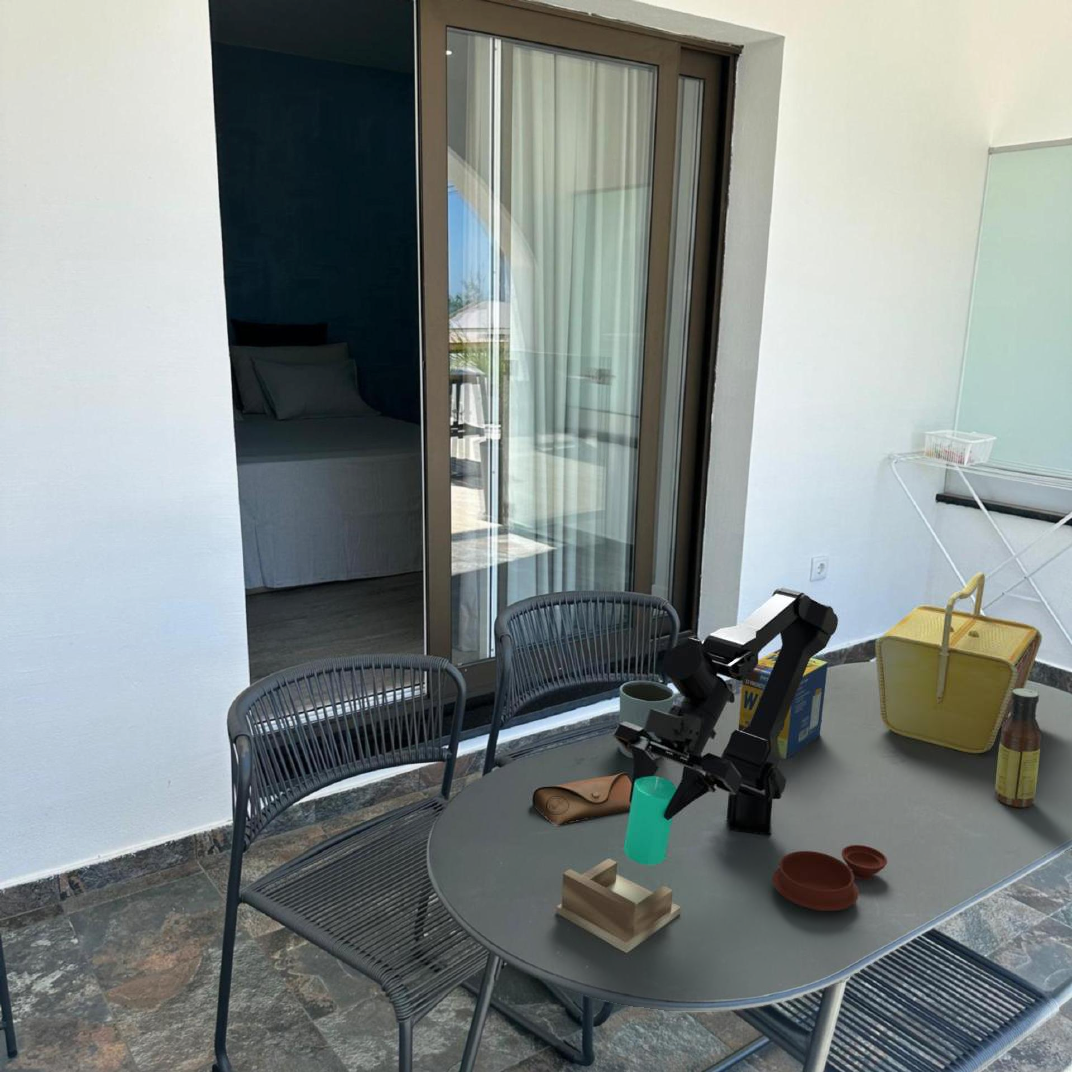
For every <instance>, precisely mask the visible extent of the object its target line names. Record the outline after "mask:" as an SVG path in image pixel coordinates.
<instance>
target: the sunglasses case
mask: <svg viewBox="0 0 1072 1072" xmlns="http://www.w3.org/2000/svg"><path fill="white" fill-rule="evenodd" d="M628 776H629V775H628V772H626V771H625V772H620V773H617V774H615V775H614V774H613V775H610V776H609V775H608V776H603V777H602V776H601V777H596V778H595V777H594V778H589V779H582V780H577V781H573V782H572V781H571V782H567V783H563V784H561V783H560V784H557V785H545V786H541V787H538V788H537V789H535V790H534V791H533V794H532V805H533V807H534V808H535V809H536V808H537V809H538V810H539V811H540V812H541V813H543V815H544V816H546V817H547V818H548V820H550V821H551V822H554V823H555V824H556V825H562V824H565V823H568V824H570V823H569V822H571V821H576V820H580V821H583V820H582V819H585V818H590V819H592V818H591V817H595V818H599V817H598V816H600V817H604V815H605V816H609V814H610V815H614V813H616V814H620V813H625V812H630V808H631V803H630V802H629V799H630V792H631V785H632V780H630V778H629V777H628ZM537 809H536V810H537ZM538 810H537V811H538ZM539 811H538V812H539ZM540 812H539V813H540ZM541 813H540V814H541ZM543 815H542V816H543ZM544 816H543V817H544ZM548 820H547V821H548ZM585 820H586V819H585ZM576 822H577V821H576ZM565 825H566V824H565ZM562 826H563V825H562Z"/></svg>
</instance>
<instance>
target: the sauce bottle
mask: <svg viewBox="0 0 1072 1072" xmlns="http://www.w3.org/2000/svg"><path fill="white" fill-rule="evenodd" d="M1039 696H1040V694H1039V693H1038V692H1037V691H1035V690H1033V689H1029V688H1024V689H1023V688H1019V689H1014V690H1013V691H1012V709H1011V712H1010V713H1009V715H1008V717H1007V718H1006V720H1005V721H1004V723H1003V724H1002V726H1001V733H1000V739H999V746H998V755H997V765H996V775H995V777H996V778H995V786H994V789H995V792H994V793H995V797H996V799H997V800H998V801H999V802H1001V803H1002V804H1005V805H1008V806H1011V807H1014V808H1029V807H1032V806H1033V803H1034V801H1035V800H1034V799H1035V796H1036V791H1037V780H1038V773H1039V764H1040V757H1041V756H1040V755H1041V754H1040V753H1041V738H1042V737H1041V736H1042V731H1041V729H1040V726H1039V724H1038V721H1037V719H1036V717H1037V715H1036V711H1037V707H1038V706H1037V704H1038V703H1039V699H1040V698H1039Z"/></svg>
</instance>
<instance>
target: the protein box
mask: <svg viewBox="0 0 1072 1072" xmlns="http://www.w3.org/2000/svg"><path fill="white" fill-rule="evenodd" d="M780 649H781V648H779V649H777V650H775V651H774V652H771V653H769V654H768V655H765V656H764V657H762V658H760V659H759V658H758V665H757V666H756V667H755V668H754V670H753V671H752V673H751V674H749V676H748V677H747V678H745V679H744V680H742V683H741V691H740V692H741V693H740V694H741V695H740V701H739V702H740V704H739V717H738V718H739V719H738V729H737V730H739V731H741V730H743V729H744V728H746V727H747V726H748V725H749V723H750V721H751V719H752V716H753V714H754V712H755V709H756V707H757V704H758V702H759V700H760V697H761V695H762V692H763V690H764V688H765V685H766V683H767V680H768V678H769V676H770V673H771V671H772V668H773V666H774V664H775V661H776V659H777V656H778V654H779V652H780ZM828 664H829V663H828V662H827V661H825V660H824V661H823V660H820V659H818V658H813V657H811V658H810V660H809V662H808V665H807V667H806V670H805V672H804V675H803V677H802V680H801V682H800V684H799V687H798V689H797V692H796V694H795V697H794V699H793V702H792V704H791V707H790V709H789V711H788V714H787V716H786V719H785V721H784V724H783V726H782V729H781V731H780V734H779V736H778V739H777V741H778V747H779V752H780V759H784V760H786V759H787V758H789V757H791V756H792V755H793V754H795V753H796V752H797V751H799V750H800V749H802V748H803V747H805V746H806V745H808V744H809V743H810V742H812V741H813V740H815V739H817V737H819V736H820V735H821V728H822V727H821V726H822V719H823V718H822V717H823V710H824V701H825V692H826V691H825V690H826V681H827V674H828V673H827V672H828Z"/></svg>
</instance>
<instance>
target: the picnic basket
mask: <svg viewBox="0 0 1072 1072" xmlns="http://www.w3.org/2000/svg"><path fill="white" fill-rule="evenodd" d="M985 581H986V575H985V573H984V572H982V571H979V572H977V573H976V574H975V575H974V576H973V577H972V578H970V580H968V582H967V584H966V586H964V588H963V589H962V590H959V591H956V592H953V594H951V596H950V597H949V598H948V601H947V603H946V607H942V606H936V605H928V604H922V605H918V606H917V607H915V608H914V609H912V611H911V612H909V613H908V614H907V615H906V616H904V617H903V618H902V619H901V620H900V621H899V622H897V623H896V624H894V625H893V626H892V627H890V628H889V629H888V630H887V631H886V632H885V633H884V634H882V635H881V636H879V637H878V638H877V639H876V641H875V645H874V647H875V649H874V650H875V659H876V660H875V661H876V672H877V682H878V683H877V685H878V695H879V706H880V707H879V708H880V709H879V710H880V716H881V720H882V723H883V724H884V725H885V726H886V727H887V728H888V729H889V730H890V731H891V732H893V733H894V734H897V735H900V736H902V737H907V738H911V739H914V740H917V741H922V742H925V743H928V744H929V743H930V744H933V745H937V746H941V747H944V748H949V749H952V750H956V751H960V752H963V753H967V754H980V753H985V752H987V751H989V750H991V748H992V747H993V746H994V745H995V744H994V743H995V741H996V739H997V735H998V732H999V731H1000V730H1001V729H1002V725H1003V723H1004V722H1005V721H1006V720H1007V719H1008V717H1009V716H1010V713H1011V709H1012V691H1013V690H1014V689H1019V688H1023V689H1025V686H1026V684H1027V681H1028V679H1029V676H1030V674H1031V671H1032V668H1033V665H1034V663H1035V660H1036V657H1037V655H1038V652H1039V651H1040V650H1039V649H1040V646H1041V643H1042V638H1043V635H1042V633H1041V632H1040V630H1039V629H1038V628H1037V627H1035V626H1034V625H1031V624H1029V623H1026V622H1021V621H1020V622H1019V621H1016V620H1010V619H1005V618H1000V617H999V618H997V617H995V616H994V617H993V616H990V615H989V616H988V615H983V614H981V608H982V602H983V595H984V589H985V584H986V583H985ZM975 591H976V595H975V600H974V606H973V607H974V608H973V612H968V611H962V610H957V609H954V606H955V604H956V601H957V600H958V599H959V600H965V599H968V598H969V597H971V596H972V595H973V594H974V593H975Z"/></svg>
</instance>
